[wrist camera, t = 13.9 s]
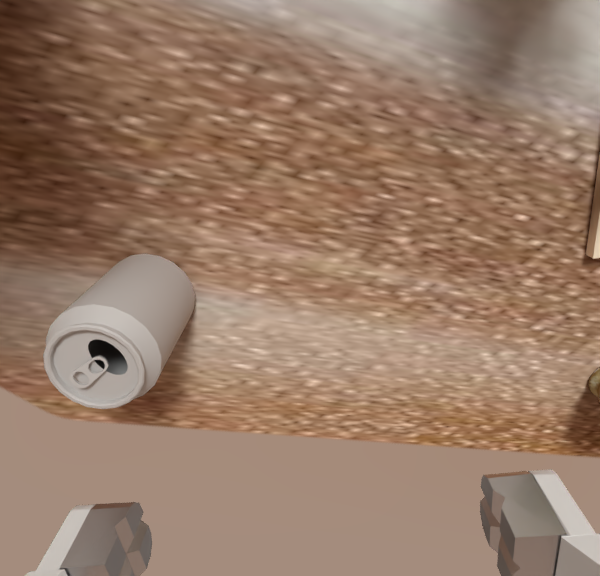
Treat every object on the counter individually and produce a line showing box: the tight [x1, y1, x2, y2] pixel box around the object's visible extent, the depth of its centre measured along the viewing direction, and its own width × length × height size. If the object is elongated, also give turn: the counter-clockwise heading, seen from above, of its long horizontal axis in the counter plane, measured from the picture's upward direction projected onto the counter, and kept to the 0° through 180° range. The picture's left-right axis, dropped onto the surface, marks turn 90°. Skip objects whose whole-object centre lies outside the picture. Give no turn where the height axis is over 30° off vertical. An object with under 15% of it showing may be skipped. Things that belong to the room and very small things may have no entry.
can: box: [43, 254, 195, 409], centre depth 33 cm, size 8×8×12 cm
